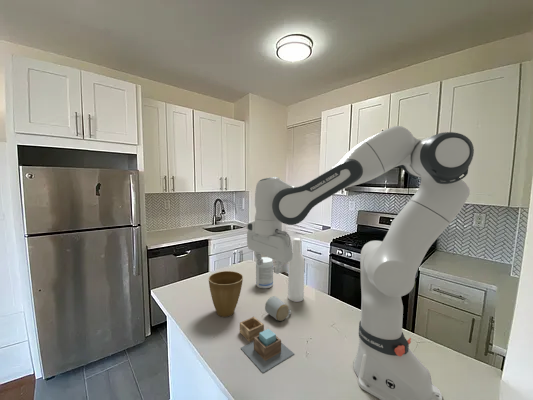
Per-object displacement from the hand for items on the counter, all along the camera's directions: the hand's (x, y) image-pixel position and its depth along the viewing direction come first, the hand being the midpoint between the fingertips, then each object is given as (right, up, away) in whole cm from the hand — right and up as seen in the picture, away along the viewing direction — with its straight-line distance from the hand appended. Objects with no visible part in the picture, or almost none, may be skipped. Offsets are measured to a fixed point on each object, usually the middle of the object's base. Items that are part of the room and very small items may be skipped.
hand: (267, 268), depth 76 cm
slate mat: (0, -29, +2) cm, 29 cm away
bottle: (+14, -27, +39) cm, 49 cm away
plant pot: (-18, -27, +26) cm, 42 cm away
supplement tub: (-2, -25, +53) cm, 59 cm away
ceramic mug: (+5, -28, +24) cm, 37 cm away
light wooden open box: (-6, -28, +11) cm, 31 cm away
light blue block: (0, -28, +2) cm, 28 cm away
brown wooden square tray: (0, -28, +2) cm, 29 cm away
